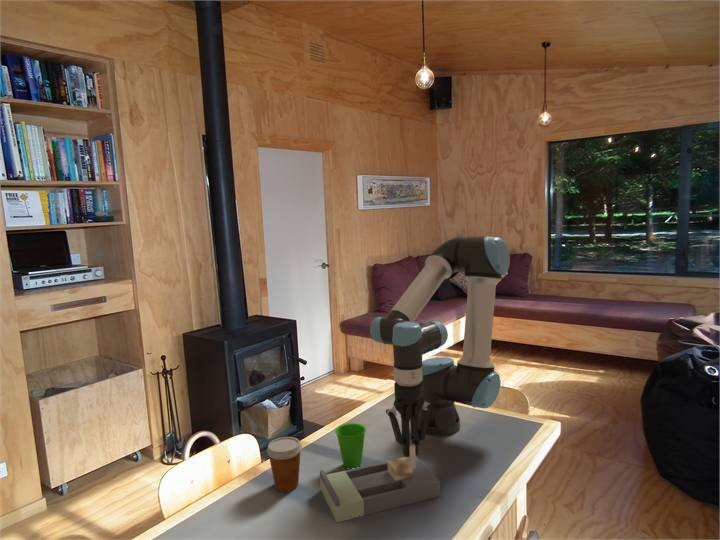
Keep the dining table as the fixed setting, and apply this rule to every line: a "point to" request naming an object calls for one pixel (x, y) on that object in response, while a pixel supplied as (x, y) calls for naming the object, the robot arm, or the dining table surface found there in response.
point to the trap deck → (375, 489)
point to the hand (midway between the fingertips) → (411, 466)
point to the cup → (351, 443)
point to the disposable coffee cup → (285, 462)
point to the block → (400, 468)
